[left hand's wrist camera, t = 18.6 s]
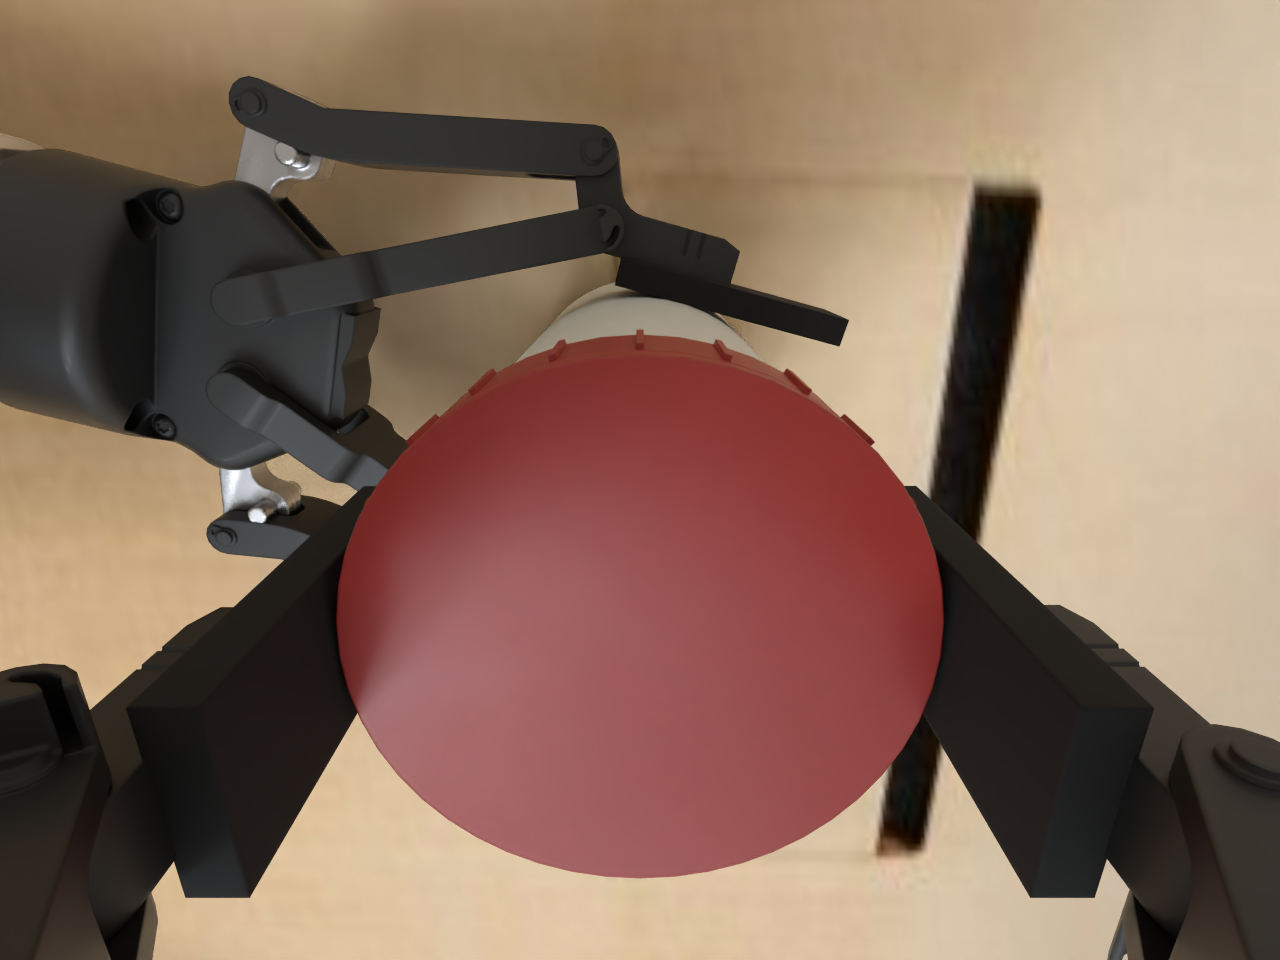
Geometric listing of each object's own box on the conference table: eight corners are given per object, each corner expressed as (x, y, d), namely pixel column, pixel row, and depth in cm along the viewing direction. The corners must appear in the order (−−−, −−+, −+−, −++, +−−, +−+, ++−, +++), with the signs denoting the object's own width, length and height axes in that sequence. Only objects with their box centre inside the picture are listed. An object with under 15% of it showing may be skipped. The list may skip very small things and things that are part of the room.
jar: (750, 481, 28) (897, 815, 12) (548, 498, 29) (429, 847, 12) (743, 268, 25) (922, 337, 9) (517, 290, 26) (310, 392, 10)
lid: (273, 460, 11) (205, 504, 9) (810, 232, 10) (846, 233, 8) (519, 849, 14) (502, 938, 12) (957, 710, 13) (1008, 786, 11)
